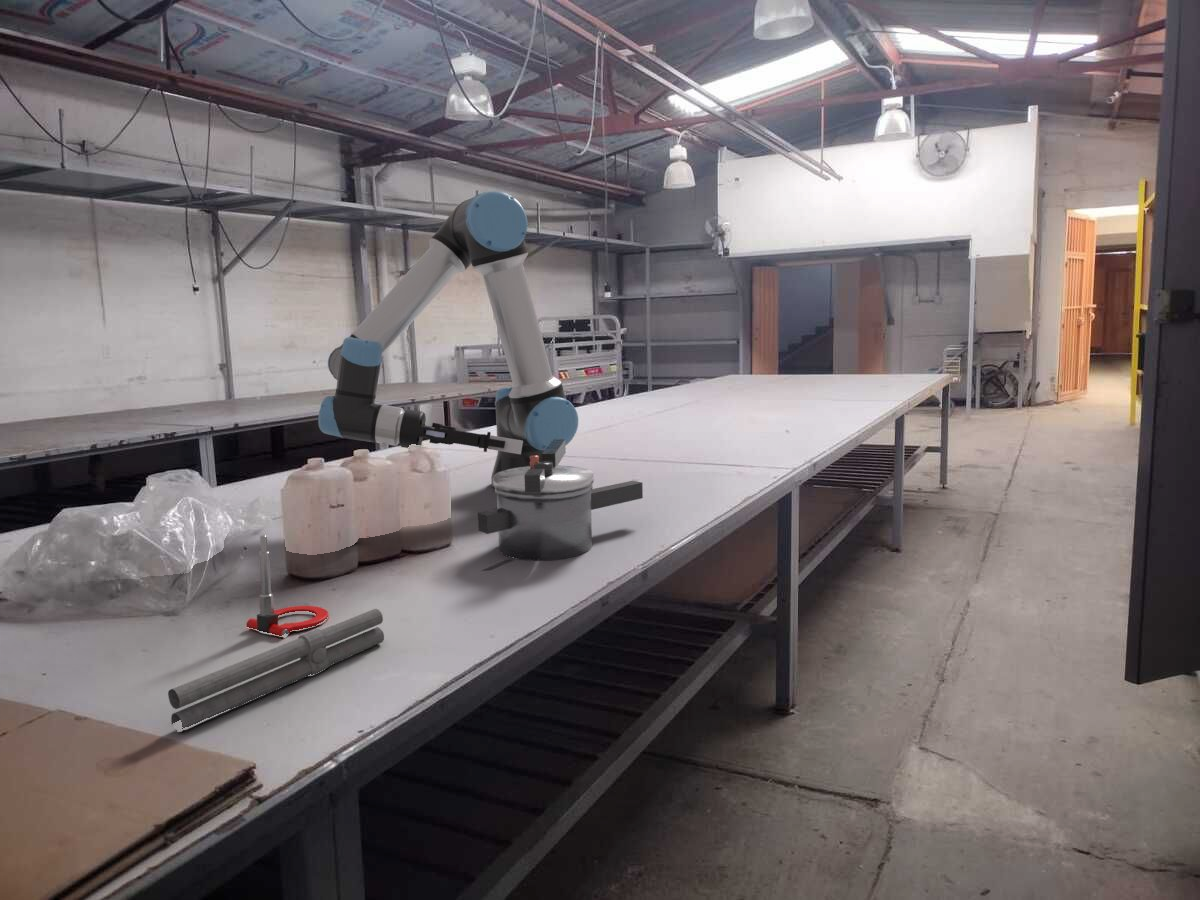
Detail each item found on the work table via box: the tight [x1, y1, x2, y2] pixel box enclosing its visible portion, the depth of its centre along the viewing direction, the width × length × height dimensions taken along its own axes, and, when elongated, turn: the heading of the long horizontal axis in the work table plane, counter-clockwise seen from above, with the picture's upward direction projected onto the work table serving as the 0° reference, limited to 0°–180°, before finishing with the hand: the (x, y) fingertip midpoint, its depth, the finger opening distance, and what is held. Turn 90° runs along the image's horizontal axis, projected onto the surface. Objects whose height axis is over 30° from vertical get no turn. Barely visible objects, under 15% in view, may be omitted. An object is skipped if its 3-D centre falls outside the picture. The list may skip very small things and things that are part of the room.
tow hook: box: [245, 534, 329, 636], centre depth 106 cm, size 8×13×9 cm
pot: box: [477, 480, 644, 562], centre depth 141 cm, size 26×26×11 cm
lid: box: [493, 439, 595, 494], centre depth 142 cm, size 35×17×4 cm, turn 176°
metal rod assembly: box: [167, 608, 385, 729], centre depth 89 cm, size 26×3×5 cm, turn 146°
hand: (521, 447), depth 159 cm, fingers closed
